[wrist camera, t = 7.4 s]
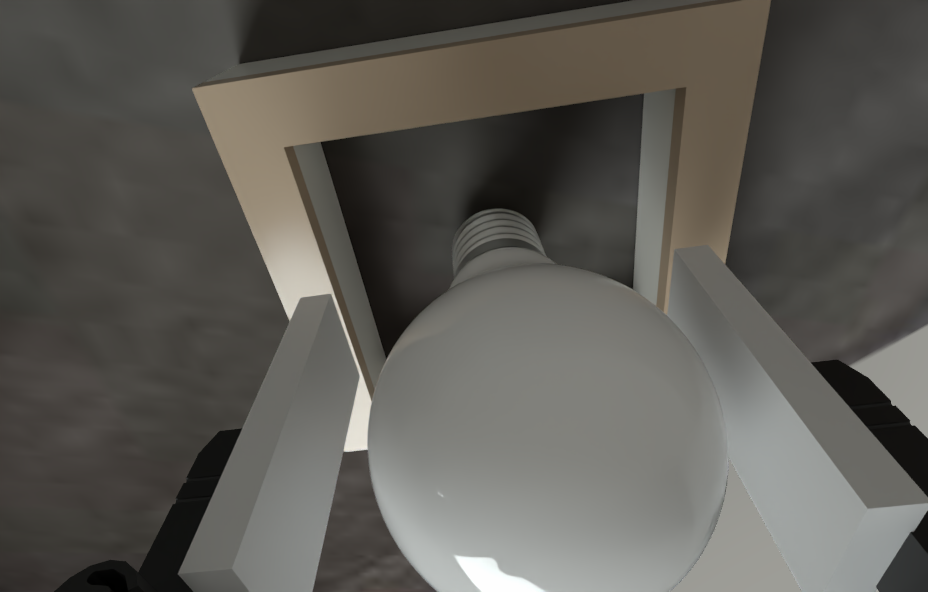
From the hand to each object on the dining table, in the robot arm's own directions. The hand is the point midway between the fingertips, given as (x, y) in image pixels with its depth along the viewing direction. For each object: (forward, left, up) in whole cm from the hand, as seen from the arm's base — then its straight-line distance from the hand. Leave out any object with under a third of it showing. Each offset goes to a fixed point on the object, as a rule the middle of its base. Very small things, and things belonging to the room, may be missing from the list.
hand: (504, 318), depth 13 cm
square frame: (0, 0, -4) cm, 4 cm away
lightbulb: (0, 0, -4) cm, 4 cm away
